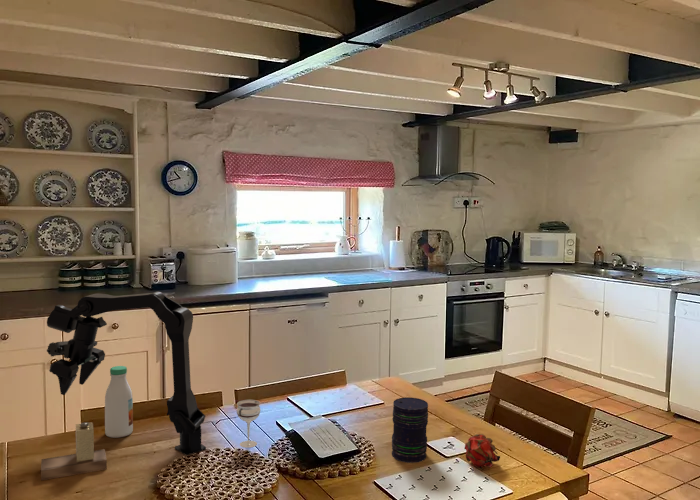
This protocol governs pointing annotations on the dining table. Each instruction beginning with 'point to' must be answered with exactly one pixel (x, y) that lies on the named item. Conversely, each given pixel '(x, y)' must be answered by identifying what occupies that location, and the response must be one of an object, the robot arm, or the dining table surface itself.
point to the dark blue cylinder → (409, 429)
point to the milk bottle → (118, 404)
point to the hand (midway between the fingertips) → (72, 389)
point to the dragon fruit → (481, 451)
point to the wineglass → (248, 417)
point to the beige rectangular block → (84, 441)
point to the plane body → (71, 465)
